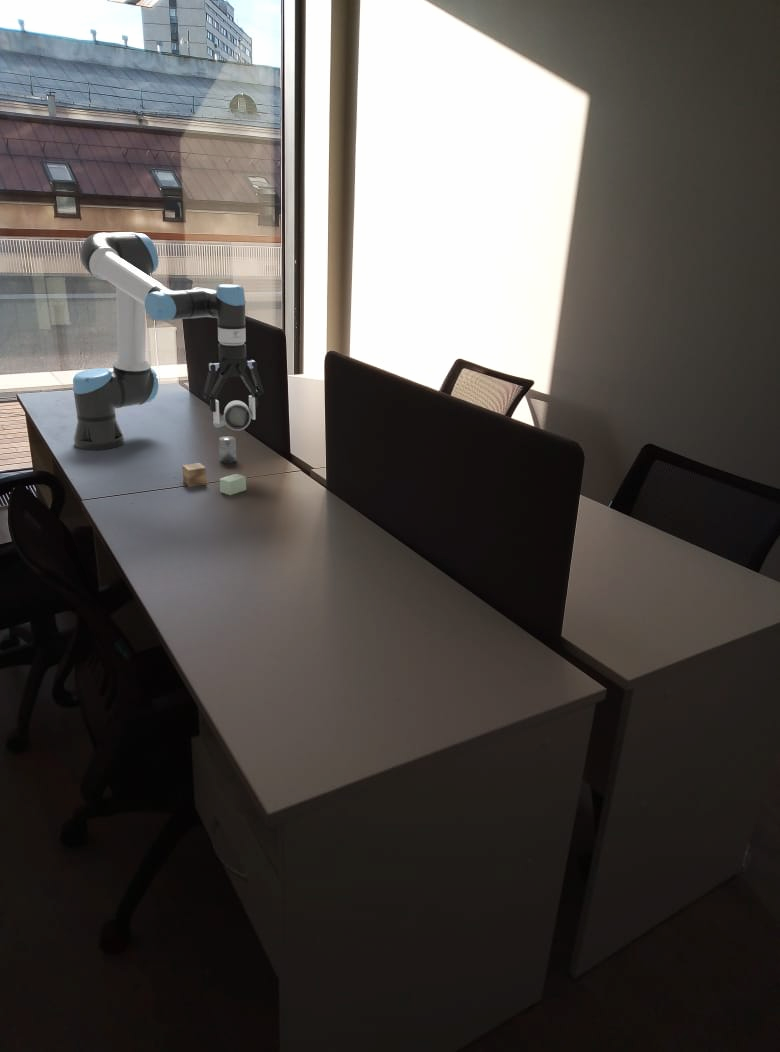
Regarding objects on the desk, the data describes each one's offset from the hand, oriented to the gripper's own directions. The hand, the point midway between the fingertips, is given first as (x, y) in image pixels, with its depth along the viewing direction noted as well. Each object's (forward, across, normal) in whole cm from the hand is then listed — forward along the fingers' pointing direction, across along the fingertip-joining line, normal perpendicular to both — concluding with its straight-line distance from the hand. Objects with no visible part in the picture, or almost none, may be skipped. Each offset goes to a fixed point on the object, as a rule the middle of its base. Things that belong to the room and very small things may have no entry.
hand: (234, 420), depth 221 cm
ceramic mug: (+2, 0, +1) cm, 3 cm away
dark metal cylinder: (+16, +2, +12) cm, 20 cm away
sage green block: (+16, -7, -14) cm, 22 cm away
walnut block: (+16, -14, -3) cm, 21 cm away
